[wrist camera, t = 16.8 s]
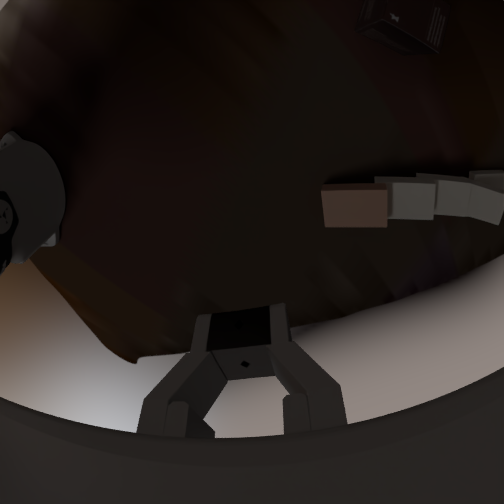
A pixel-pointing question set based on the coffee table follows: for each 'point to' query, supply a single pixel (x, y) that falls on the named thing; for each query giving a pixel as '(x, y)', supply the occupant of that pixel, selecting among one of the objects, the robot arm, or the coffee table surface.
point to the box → (405, 24)
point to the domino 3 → (450, 194)
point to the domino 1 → (355, 205)
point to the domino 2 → (409, 197)
